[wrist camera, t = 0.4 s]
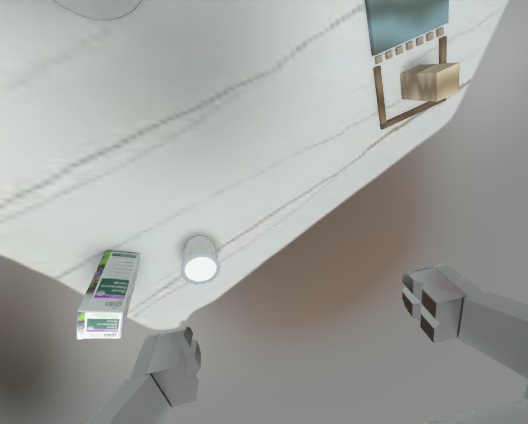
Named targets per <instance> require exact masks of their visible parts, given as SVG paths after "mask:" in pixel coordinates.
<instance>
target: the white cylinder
mask: <svg viewBox="0 0 528 424" xmlns="http://www.w3.org/2000/svg"><path fill="white" fill-rule="evenodd" d="M219 271H220V264H219V261H218V258H217V254H216V251H215V248H214V245H213V242H212V241H211V240H210V239H209V238H207V237H205V236H196V237H192V238H191V239H190V240H188V242H187V243H186V245H185V250H184V255H183V260H182V265H181V274H182V276H183V278H184V279H185V280H186V281H188V282H190V283H193V284H205V283H208V282H210V281H212V280H213V279H215V278H216V277H217V275H218V274H219Z"/></svg>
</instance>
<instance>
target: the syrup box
mask: <svg viewBox="0 0 528 424" xmlns="http://www.w3.org/2000/svg"><path fill="white" fill-rule="evenodd" d="M138 263H139V254H138V253H126V252H115V251H106V252H105V254H104V256H103V258H102V260H101V263H100V265H99V267H98V269H97V271H96V273H95V275H94V277H93V279H92V282H91V284H90V286H89V288H88V290H87V292H86V294H85V296H84V299H83V301H82V303H81V305H80V307H79V309H78V315H77V339H85V338H89V339H112V338H114V339H120V338H121V336H122V332H123V328H124V324H125V320H126V316H127V312H128V308H129V304H130V301H131V297H132V293H133V289H134V285H135V281H136V277H137V270H138Z"/></svg>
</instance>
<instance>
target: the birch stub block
mask: <svg viewBox="0 0 528 424" xmlns="http://www.w3.org/2000/svg"><path fill="white" fill-rule="evenodd" d="M459 68H460V63H445V64H430V65H419V66H417V67H414V68H412V69H410V70H408V71H406V72H403V73H401V74H400V81H401V94H402V99H409V100H420V101H432V102H438V101H440V100H442V99H445V98H447V97H449V96H451V95H453V94H455V93H458V92H459Z"/></svg>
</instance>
